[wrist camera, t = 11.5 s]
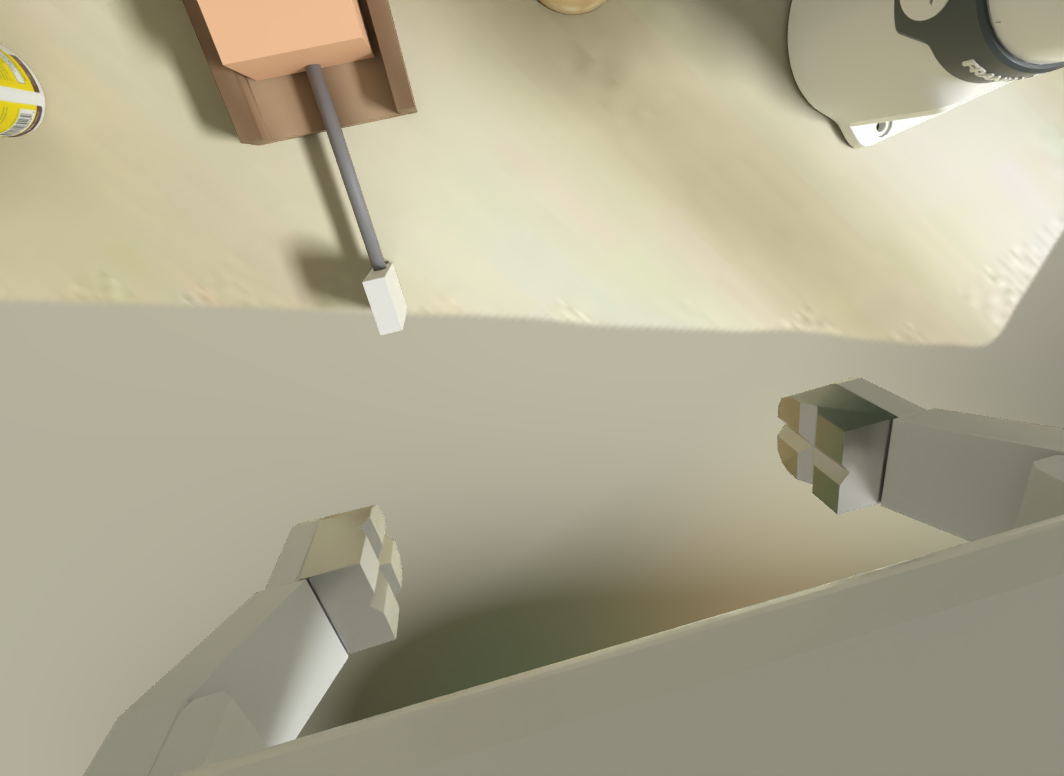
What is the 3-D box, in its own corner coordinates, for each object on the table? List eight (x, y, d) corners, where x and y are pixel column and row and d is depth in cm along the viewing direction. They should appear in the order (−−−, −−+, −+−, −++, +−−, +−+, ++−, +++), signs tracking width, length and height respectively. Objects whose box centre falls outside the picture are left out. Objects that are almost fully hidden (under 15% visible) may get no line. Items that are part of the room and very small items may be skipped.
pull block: (345, -49, 31) (323, -100, 26) (444, 300, 42) (444, 321, 36) (220, -26, 31) (168, -72, 25) (351, 322, 41) (336, 347, 35)
